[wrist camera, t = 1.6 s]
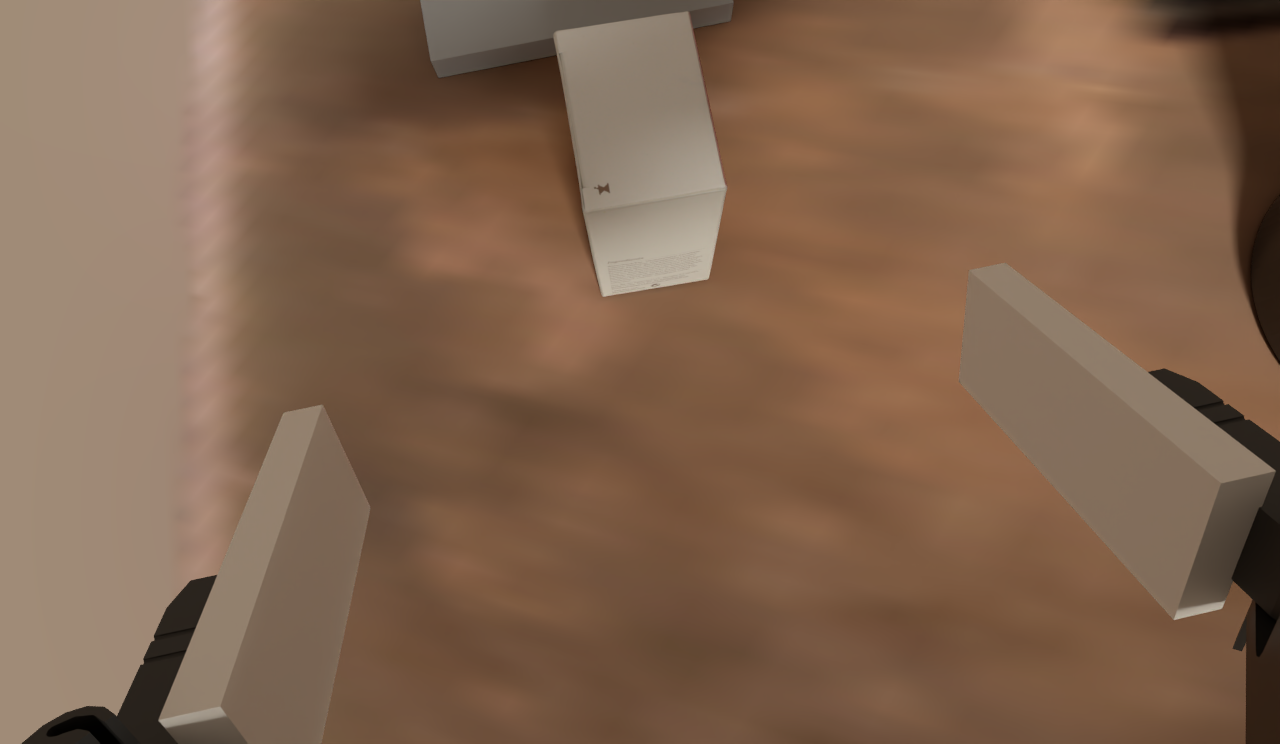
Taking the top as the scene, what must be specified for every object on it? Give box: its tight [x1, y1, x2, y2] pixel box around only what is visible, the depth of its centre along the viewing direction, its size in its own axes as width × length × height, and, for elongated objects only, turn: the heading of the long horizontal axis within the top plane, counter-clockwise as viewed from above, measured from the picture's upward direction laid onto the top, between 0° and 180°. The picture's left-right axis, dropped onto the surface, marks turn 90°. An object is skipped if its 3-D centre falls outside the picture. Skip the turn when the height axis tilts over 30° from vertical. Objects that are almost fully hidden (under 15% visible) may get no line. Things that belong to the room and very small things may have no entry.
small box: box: [554, 11, 727, 297], centre depth 35 cm, size 8×6×10 cm
